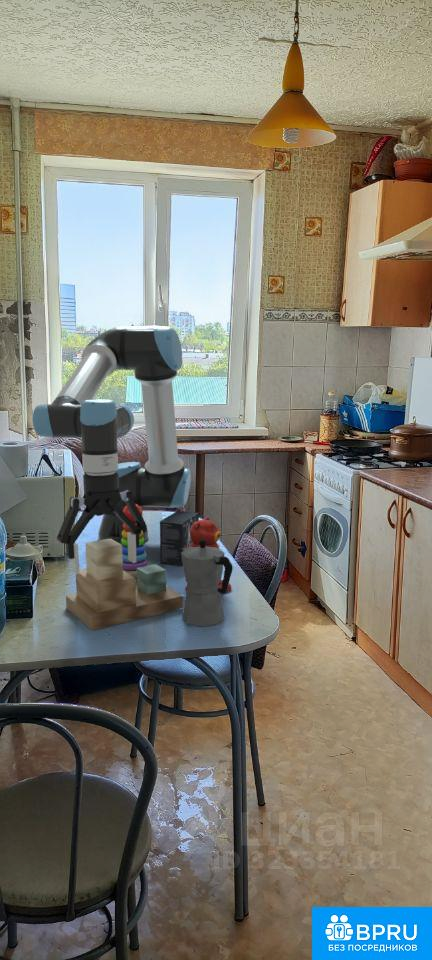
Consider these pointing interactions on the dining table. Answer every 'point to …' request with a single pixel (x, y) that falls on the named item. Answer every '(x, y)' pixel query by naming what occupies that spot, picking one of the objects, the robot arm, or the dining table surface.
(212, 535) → the stacking bear
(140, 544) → the stacking toy
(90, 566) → the oak block
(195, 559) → the coffeepot
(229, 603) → the dining table surface
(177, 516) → the small box
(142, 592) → the base
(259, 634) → the dining table surface
